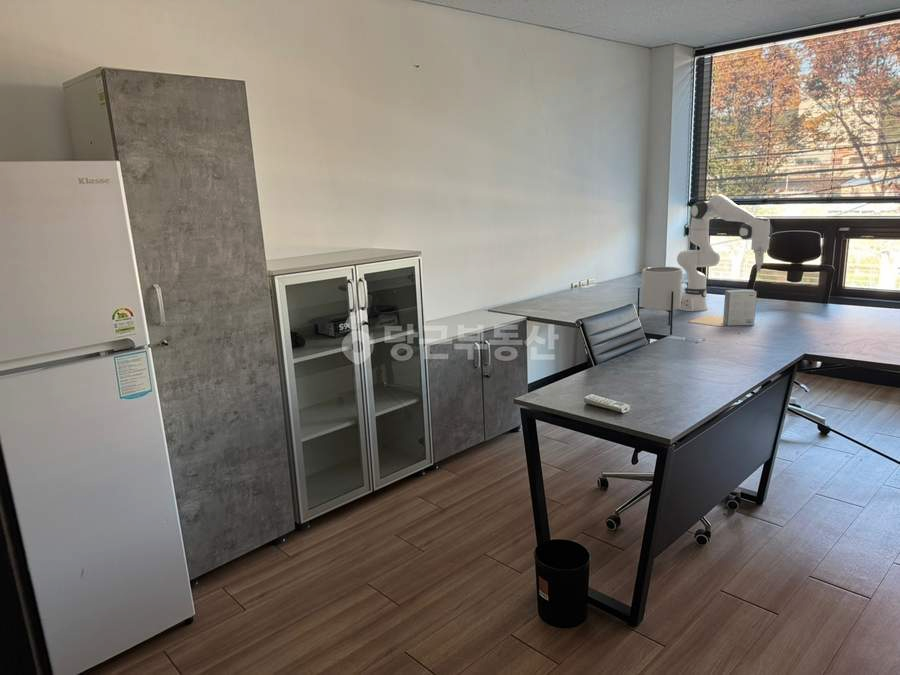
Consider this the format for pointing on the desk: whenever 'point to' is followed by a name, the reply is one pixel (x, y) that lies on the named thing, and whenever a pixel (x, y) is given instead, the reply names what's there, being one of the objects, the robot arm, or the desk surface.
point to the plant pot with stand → (661, 290)
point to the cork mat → (709, 321)
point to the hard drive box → (739, 307)
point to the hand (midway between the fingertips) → (758, 271)
